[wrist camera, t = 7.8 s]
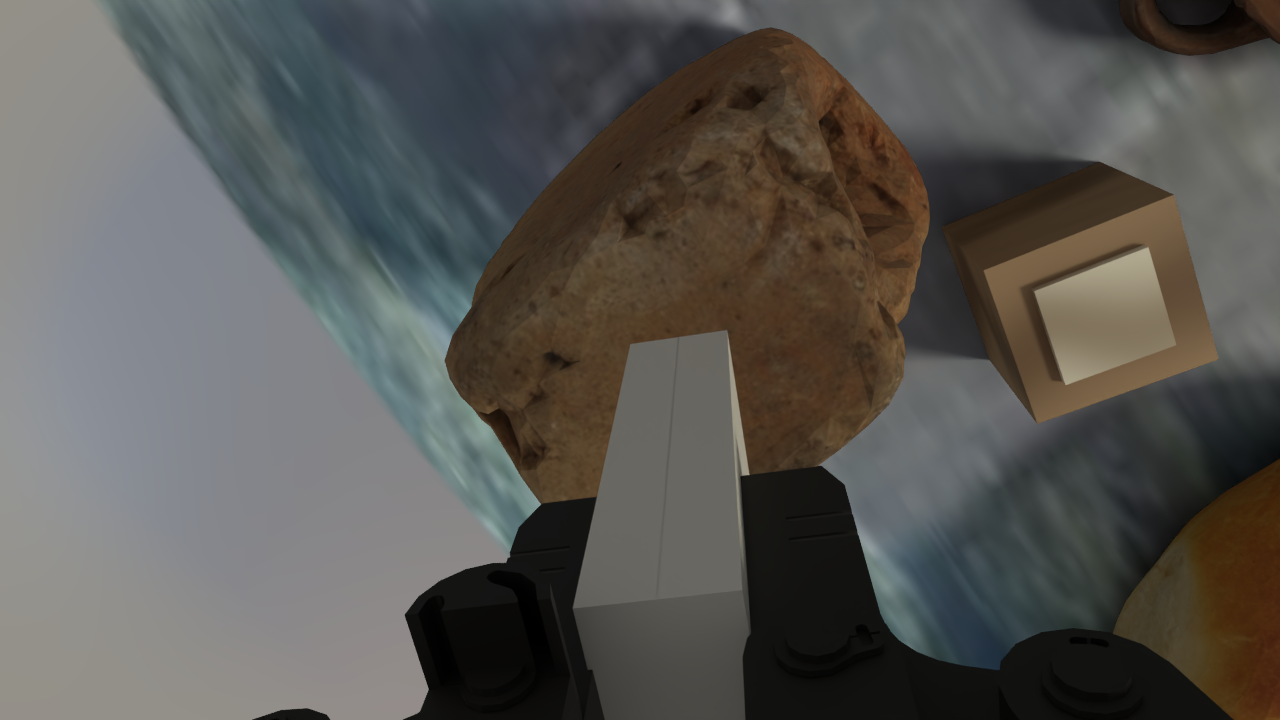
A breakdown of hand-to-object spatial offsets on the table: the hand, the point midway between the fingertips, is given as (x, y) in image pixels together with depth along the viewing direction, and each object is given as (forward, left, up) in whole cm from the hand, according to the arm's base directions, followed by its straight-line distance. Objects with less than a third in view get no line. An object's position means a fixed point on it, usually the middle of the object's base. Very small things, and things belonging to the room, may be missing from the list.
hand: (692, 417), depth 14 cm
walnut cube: (+6, +12, -23) cm, 26 cm away
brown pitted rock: (0, 0, -23) cm, 23 cm away
